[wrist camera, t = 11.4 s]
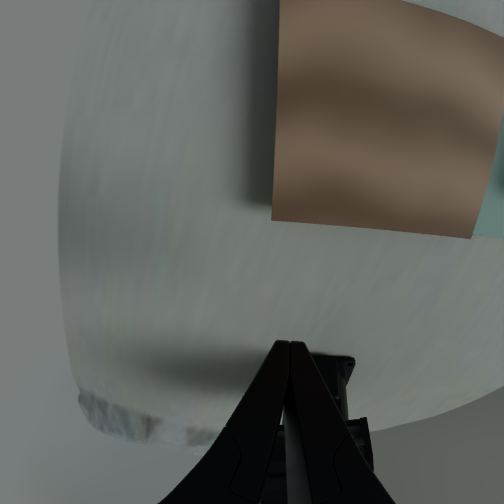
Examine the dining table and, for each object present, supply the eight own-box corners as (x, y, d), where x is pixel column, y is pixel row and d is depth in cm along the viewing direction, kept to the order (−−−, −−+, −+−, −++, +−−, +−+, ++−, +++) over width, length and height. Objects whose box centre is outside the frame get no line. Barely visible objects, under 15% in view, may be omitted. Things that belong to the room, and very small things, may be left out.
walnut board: (458, 224, 19) (470, 238, 17) (272, 205, 20) (271, 220, 18) (491, 39, 12) (509, 40, 10) (281, -9, 13) (280, -17, 11)
